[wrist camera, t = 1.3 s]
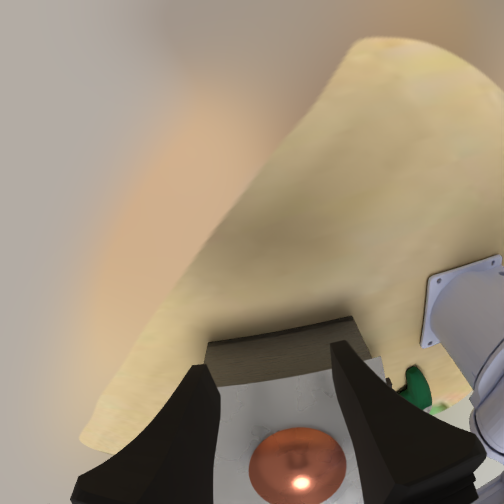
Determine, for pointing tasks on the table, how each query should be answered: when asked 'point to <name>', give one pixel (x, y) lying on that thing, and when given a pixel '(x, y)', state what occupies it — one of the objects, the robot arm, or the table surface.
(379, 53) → the table surface
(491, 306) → the robot arm
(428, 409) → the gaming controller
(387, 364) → the table surface
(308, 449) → the lid
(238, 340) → the storage bin
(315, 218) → the table surface
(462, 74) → the table surface
